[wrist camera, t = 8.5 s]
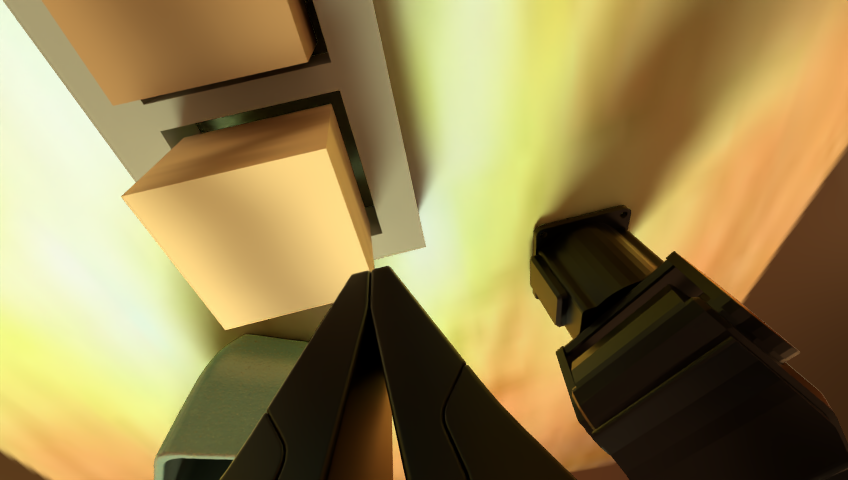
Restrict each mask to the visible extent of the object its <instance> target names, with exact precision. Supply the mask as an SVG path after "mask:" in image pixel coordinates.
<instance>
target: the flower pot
mask: <svg viewBox="0 0 848 480" xmlns="http://www.w3.org/2000/svg"><path fill="white" fill-rule="evenodd" d="M308 343H309V342H303V341H296V340H288V339H280V338H273V337H266V336H259V335H251V334H246V335H243V336H241V337H240V338H238V339H236V340H234V341H233V342H231V343H230V344H228V345H227V346H226V347H224V348H223V349H222V350H221V351H220V352H219V353H218V354H217V355H216V356H215V357H214V358H213V359H212V360H211V361H210V362H209V364H208V365H207V366H206V368H205V369H204V370H203V372H202V373H201V375H200V376H199V378H198V379H197V381H196V383H195V385H194V387H193V388H192V390H191V392H190V394H189V396H188V397H187V399H186V401H185V403H184V405H183V406H182V408H181V410H180V412H179V414H178V416H177V417H176V419H175V421H174V423H173V425H172V427H171V429H170V431H169V432H168V434H167V436H166V438H165V440H164V442H163V444H162V446H161V448H160V449H159V451H158V453H157V455H156V457H155V461H154V480H220V478H221V477H222V476H223V474H224V473H225V472H226V470H227V469H228V467H229V466H230V464H231V463H232V461H233V460H234V458H235V457H236V455H237V454H238V452H239V451H240V449H241V448H242V446H243V445H244V443H245V442H246V440H247V439H248V437H249V436H250V434H251V433H252V431H253V429H254V428H255V426H256V425H257V423H258V421H259V420H260V418H261V417H262V415H263V414H264V413H267V411H266V410H267V407H268V406H269V404H270V403H271V401H272V400H273V398H274V396H275V395H276V393H277V392H278V390H279V388H280V387H281V385H282V384H283V382H284V381H285V379H286V377H287V376H288V374H289V373H290V371H291V369H292V368H293V366H294V365H295V363H296V362H297V360H298V358H299V357H300V355H301V354H302V352H303V350H304V349H305V347H306V346H307V344H308ZM267 414H268V413H267Z"/></svg>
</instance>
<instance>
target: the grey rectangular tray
mask: <svg viewBox="0 0 848 480" xmlns="http://www.w3.org/2000/svg"><path fill="white" fill-rule="evenodd" d="M3 1H4V3H5V4H6V5H7V7H8V8H9V10H10V11H11V12H12V14H13V15H14V16H15V18H16V19H17V21H18V22H19V23H20V25H21V26H22V27H23V29H24V30H25V31H26V33H27V34H28V36H29V37H30V38H31V40H32V41H33V42H34V44H35V45H36V46H37V48H38V49H39V51H40V52H41V53H42V55H43V56H44V57H45V59H46V60H47V61H48V63H49V64H50V66H51V67H52V68H53V70H54V71H55V72H56V74H57V75H58V77H59V78H60V79H61V81H62V82H63V83H64V85H65V86H66V87H67V89H68V90H69V92H70V93H71V94H72V96H73V97H74V98H75V100H76V101H77V102H78V104H79V105H80V107H81V108H82V109H83V111H84V112H85V113H86V115H87V116H88V118H89V119H90V120H91V122H92V123H93V124H94V126H95V127H96V128H97V130H98V131H99V133H100V134H101V135H102V137H103V138H104V139H105V141H106V142H107V143H108V145H109V146H110V148H111V149H112V150H113V152H114V153H115V154H116V156H117V157H118V159H119V160H120V161H121V163H122V164H123V165H124V167H125V168H126V169H127V171H128V172H129V174H130V175H131V176H132V178H133V179H134V180H135V182H137V181H138V180H139V179H140V178H141V177H143V176H144V175H145V174H146V173H147V172H148V171H149V170H150V169H151V168H152V167H153V166H154V165H155V164H156V163H157V162H159V161H160V160H161V159H162V158H163V157H164V156H165V155H166V154H167V153H168V152H169V151H170V150H171V149H172V148H173V147H174V146H176V145H177V144H178V143H179V142H180V141H181V140H182V139H183V138H184V137H189V136H193V135H197V134H201V132H200V131H199V129H198V127H197V125H196V123H198V122H203V121H207V120H212V119H216V118H220V117H225V116H229V115H233V114H238V113H242V112H246V111H251V110H255V109H260V108H264V107H268V106H273V105H277V104H281V103H286V102H290V101H295V100H299V99H303V98H308V97H312V96H316V95H321V94H325V93H329V92H334V91H338V90H340V93H341V97H342V100H343V103H344V107H345V110H346V113H347V117H348V120H349V123H350V127H351V130H352V133H353V137H354V140H355V143H356V147H357V150H358V153H359V157H360V160H361V163H362V167H363V170H364V173H365V177H366V180H367V183H368V187H369V190H370V193H371V197H372V200H373V203H374V206H370V207H366V208H365V210H366V213H367V216H368V220H369V223H370V230H371V239H372V249H373V259H374V260H375V259H379V258H383V257H387V256H391V255H395V254H399V253H403V252H407V251H411V250H415V249H419V248H423V247H426V245H425V241H424V236H423V231H422V227H421V222H420V217H419V213H418V208H417V204H416V199H415V194H414V190H413V185H412V180H411V176H410V171H409V167H408V162H407V157H406V153H405V148H404V143H403V139H402V134H401V130H400V125H399V120H398V116H397V111H396V106H395V102H394V97H393V93H392V88H391V83H390V79H389V74H388V69H387V65H386V60H385V56H384V51H383V46H382V42H381V37H380V32H379V28H378V23H377V19H376V14H375V9H374V5H373V0H313V3H314V6H315V10H316V13H317V16H318V20H319V23H320V27H321V30H322V33H323V37H324V40H325V43H326V47H327V50H328V52H326V53H322V54H317V55H313V56H311V57H310V59H309V61H308V62H306V63H302V64H297V65H293V66H288V67H284V68H280V69H275V70H271V71H266V72H262V73H257V74H253V75H248V76H244V77H240V78H235V79H231V80H226V81H222V82H217V83H213V84H208V85H204V86H199V87H195V88H191V89H186V90H182V91H177V92H173V93H168V94H164V95H159V96H155V97H151V98H146V99H142V100H137V101H133V102H128V103H124V104H119V105H115V106H113V105H112V104H111V102H110V101H109V99H108V98H107V96H106V95H105V93H104V92H103V90H102V89H101V87H100V86H99V84H98V83H97V81H96V80H95V78H94V77H93V76H92V74H91V73H90V71H89V70H88V68H87V67H86V65H85V64H84V62H83V61H82V59H81V58H80V56H79V55H78V53H77V52H76V50H75V49H74V47H73V46H72V45H71V43H70V42H69V40H68V39H67V37H66V36H65V34H64V33H63V31H62V30H61V28H60V27H59V25H58V24H57V22H56V21H55V19H54V18H53V17H52V15H51V14H50V12H49V11H48V9H47V8H46V6H45V5H44V3H43V2H42V0H3Z"/></svg>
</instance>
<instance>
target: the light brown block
mask: <svg viewBox="0 0 848 480" xmlns="http://www.w3.org/2000/svg"><path fill="white" fill-rule="evenodd" d="M121 197H122V198H123V200H124V201H125V202H126V204H127V205H128V206H129V207H130V209H131V210H132V211H133V213H134V214H135V215H136V216H137V218H138V219H139V220H140V222H141V223H142V224H143V225H144V227H145V228H146V229H147V231H148V232H149V233H150V234H151V236H152V237H153V238H154V239H155V241H156V242H157V243H158V245H159V246H160V247H161V248H162V250H163V251H164V252H165V254H166V255H167V256H168V257H169V259H170V260H171V261H172V263H173V264H174V265H175V266H176V268H177V269H178V270H179V272H180V273H181V274H182V275H183V277H184V278H185V279H186V280H187V282H188V283H189V284H190V286H191V287H192V288H193V289H194V291H195V292H196V293H197V295H198V296H199V297H200V298H201V300H202V301H203V302H204V304H205V305H206V306H207V307H208V309H209V310H210V311H211V313H212V314H213V315H214V316H215V318H216V319H217V320H218V321H219V323H220V324H221V325H222V327H223V328H224V329H225V330H228V329H232V328H236V327H240V326H244V325H247V324H251V323H255V322H259V321H263V320H267V319H271V318H275V317H279V316H283V315H287V314H291V313H295V312H299V311H303V310H307V309H311V308H314V307H318V306H322V305H326V304H330V303H334V301H335V300H336V298H337V297H338V295H339V293H340V292H341V290H342V289H343V287H344V285H345V284H346V282H347V281H348V279H349V278H350V276H351V275H352V274H354V273H359V272H363V271H370V272H371V271H372V270H373V269H374V259H373V249H372V239H371V230H370V223H369V220H368V216H367V213H366V210H365V207H364V204H363V201H362V198H361V195H360V191H359V188H358V185H357V182H356V179H355V176H354V173H353V169H352V166H351V163H350V160H349V157H348V154H347V151H346V148H345V144H344V141H343V138H342V135H341V132H340V129H339V126H338V123H337V119H336V116H335V113H334V110H333V107H332V104H328V105H323V106H319V107H315V108H310V109H306V110H302V111H297V112H293V113H289V114H284V115H280V116H276V117H271V118H267V119H263V120H258V121H254V122H250V123H245V124H241V125H236V126H232V127H228V128H223V129H219V130H215V131H210V132H206V133H202V134H197V135H193V136H189V137H184V138H183V139H182V140H181V141H180V142H179V143H178V144H177V145H176V146H174V147H173V148H172V149H171V150H170V151H169V152H168V153H167V154H166V155H165V156H164V157H163V158H162V159H161V160H160V161H159V162H157V163H156V164H155V165H154V166H153V167H152V168H151V169H150V170H149V171H148V172H147V173H146V174H145V175H144V176H143V177H141V178H140V179H139V180H138V181H137V182H136V183H135V184H134V185H133V186H132V187H131V188H130V189H129V190H128V191H127V192H125V193H124V194H123V195H122V196H121Z"/></svg>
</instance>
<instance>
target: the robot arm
mask: <svg viewBox="0 0 848 480" xmlns="http://www.w3.org/2000/svg"><path fill="white" fill-rule="evenodd" d="M630 216H631V210H630V209H629V208H628V207H626V206H624V205H621V206H617V207H613V208H609V209H605V210H601V211H597V212H593V213H589V214H585V215H581V216H577V217H573V218H569V219H565V220H561V221H557V222H554V223H550V224H546V225H542V226H539V227H537V228H536V229H535V231H534V235H533V256H532V257H531V259H530V285H531V287H532V288H533V294H534V296H535V298H536V299H539V300H540V301H541V303H542V304H543V306H544V308H545V309H546V311H547V312H548V314H549V316H550V317H551V319H552V321H553V322H554V324H555V325H557V326H558V327H561V326H565V327H566V329H567V330H568V332H569V333H570V335H571V337H572V338H573V340H571V341H570V342H569V343H568V344H567V345H565V346H562V347H561V348H560V349H558V350H557V351H556V355H557V358H558V361H559V364H560V368H561V371H562V374H563V377H564V380H565V383H566V386H567V389H568V392H569V395H570V399H571V402H572V405H573V407H574V410H575V413H576V416H577V419H578V421H579V423H580V424H581V425H582V426H583V427H584V428H585V430H586V432H587V433H588V434H589V435H590V436H591V437H592V438H593V440H594V441H595V442H596V443H597V444H598V445H599V446H600V447H601V448H602V449H603V450H604V451H605V452H607V453H608V454H609V455H611V456H612V458H613V459H614V460H615V461H616V463H617V464H618V465H619V466H620V468H621V469H622V470H623V471H624V473H625V474H626V475H627V477H628V478H629V480H848V443H847V441H846V438H845V436H844V433H843V431H842V429H841V426H840V424H839V422H838V419H837V417H836V416H835V414H834V412H833V411H832V409H831V407H830V406H829V404H828V402H827V401H826V399H825V398H824V396H823V394H822V393H821V392H820V391H819V390H818V389H817V388H815V387H814V386H813V385H812V384H811V383H810V382H808V381H807V380H806V379H804V378H803V377H802V376H801V375H800V374H799V373H798V372H797V371H795V370H794V369H793V368H792V367H791V366H789V365H788V364H787V363H786V361H788V360H789V359H791V358H792V357H794V356H796V355H798V354H799V353H800V352H799V351H798V350H797V349H796V348H794V347H793V346H792V345H791V344H790V343H789V342H787V341H786V340H785V339H784V338H783V337H781V336H780V335H779V334H778V333H776V332H775V331H774V330H773V329H772V328H771V327H769V326H768V325H767V324H766V323H765V322H763V321H762V320H761V319H760V318H759V317H758V316H756V315H755V314H754V313H753V312H752V311H750V310H749V309H748V308H747V307H745V306H744V305H743V304H742V303H740V302H739V301H738V300H737V299H735V298H734V297H733V296H732V295H730V294H729V293H728V292H726V291H725V290H724V289H723V288H721V287H720V286H719V285H718V284H716V283H715V282H714V281H713V280H711V279H710V278H709V277H707V276H706V275H705V274H703V273H702V272H701V271H700V270H698V269H697V268H696V267H694V266H693V265H692V264H690V263H689V262H688V261H687V260H685V259H684V258H683V257H681V256H680V255H679V254H677V253H676V252H675V251H673V252H672V253H671V254H670V255H669V256H668V257H666V259H667V260H666V261H665V262H664V261H663V260H661V259H660V258H659V257H658V256H657V255H656V254H654V253H653V252H652V251H651V250H650V249H649V248H648V247H646V246H645V245H644V244H643V243H642V242H641V241H639V240H638V239H637V238H636V237H635V236H634V235H633V234H631V233H630V232H629V231H628V225H629V221H630ZM543 232H544V233H543ZM541 233H543V234H542V235H540V234H541ZM266 411H267V413H268V414H267V413H264V414H263V415H262V417H261V418H260V420H259V421H258V423H257V425H256V426H255V428H254V429H253V431H252V433H251V434H250V436H249V437H248V439H247V440H246V442H245V443H244V445H243V446H242V448H241V449H240V451H239V452H238V454H237V455H236V457H235V458H234V460H233V461H232V463H231V464H230V466H229V467H228V469H227V470H226V472H225V473H224V474H223V476H222V477H221V478H220V480H393V453H392V417H393V421H394V426H395V431H396V435H397V440H398V445H399V450H400V454H401V459H402V464H403V469H404V473H405V478H406V480H577V479H576V478H575V477H574V476H573V475H572V474H571V473H570V472H569V471H568V470H567V469H565V468H564V467H563V466H562V465H561V464H560V463H559V462H558V461H557V460H556V459H555V458H554V457H553V456H552V455H551V454H550V453H549V452H548V451H547V450H546V449H545V448H544V447H543V446H542V445H541V444H540V443H539V442H538V441H537V440H536V439H535V438H534V437H533V436H532V435H530V434H529V433H528V432H527V431H526V430H525V429H524V428H523V427H522V426H521V425H520V424H519V423H518V421H517V420H516V419H515V418H514V417H513V416H512V415H511V414H510V413H509V412H508V411H507V410H506V409H505V408H504V407H503V406H502V405H501V404H500V403H499V402H498V401H497V399H496V398H495V397H494V396H493V395H492V393H491V392H490V391H489V390H488V389H487V388H486V386H485V385H484V384H483V383H482V382H481V381H480V379H479V378H478V377H477V376H476V374H475V373H474V372H473V370H472V369H471V368H470V367H469V366H468V365H466V362H465V361H464V359H463V358H462V357H461V356H460V354H459V353H458V352H457V351H456V349H455V348H454V347H453V346H452V344H451V343H450V342H449V340H448V339H447V338H446V337H445V335H444V334H443V333H442V332H441V330H440V329H439V328H438V327H437V325H436V324H435V323H434V322H433V320H432V319H431V318H430V316H429V315H428V314H427V313H426V311H425V310H424V309H423V308H422V306H421V305H420V304H419V303H418V301H417V300H416V299H415V297H414V296H413V295H412V294H411V292H410V291H409V290H408V289H407V287H406V286H405V285H404V284H403V282H402V281H401V280H400V278H399V277H398V276H397V275H396V273H395V272H394V271H393V270H392V268H391V267H389V266H385V267H381V268H376V269H373V270H372V271H371V272H370V271H363V272H359V273H354V274H352V275H351V276H350V278H349V279H348V281H347V282H346V284H345V285H344V287H343V289H342V290H341V292H340V293H339V295H338V297H337V298H336V300H335V301H334V303H333V304H332V306H331V308H330V309H329V311H328V312H327V314H326V316H325V317H324V319H323V320H322V322H321V324H320V325H319V327H318V328H317V330H316V331H315V333H314V335H313V336H312V338H311V339H310V341H309V343H308V344H307V346H306V347H305V349H304V350H303V352H302V354H301V355H300V357H299V358H298V360H297V362H296V363H295V365H294V366H293V368H292V369H291V371H290V373H289V374H288V376H287V377H286V379H285V381H284V382H283V384H282V385H281V387H280V388H279V390H278V392H277V393H276V395H275V396H274V398H273V400H272V401H271V403H270V404H269V406H268V407H267V410H266Z"/></svg>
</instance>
